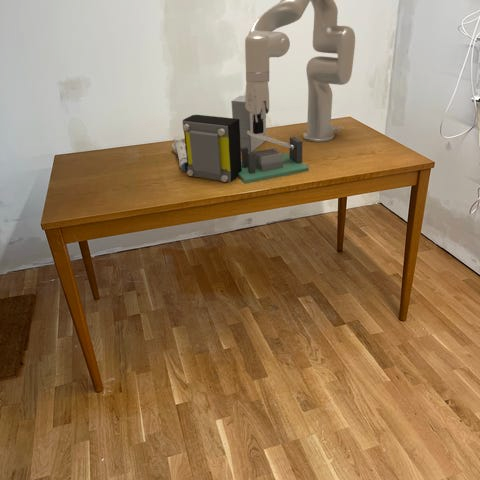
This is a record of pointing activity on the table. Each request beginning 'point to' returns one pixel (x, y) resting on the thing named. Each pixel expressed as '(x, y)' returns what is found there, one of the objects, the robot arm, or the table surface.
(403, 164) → the table surface
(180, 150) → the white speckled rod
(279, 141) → the grey long flat bar
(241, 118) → the hard drive box
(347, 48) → the robot arm
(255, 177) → the board
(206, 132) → the electrical component
